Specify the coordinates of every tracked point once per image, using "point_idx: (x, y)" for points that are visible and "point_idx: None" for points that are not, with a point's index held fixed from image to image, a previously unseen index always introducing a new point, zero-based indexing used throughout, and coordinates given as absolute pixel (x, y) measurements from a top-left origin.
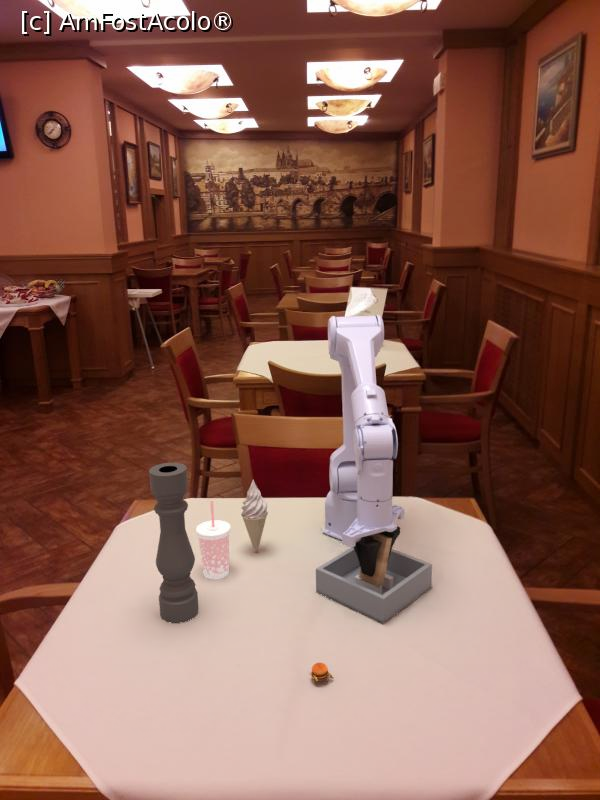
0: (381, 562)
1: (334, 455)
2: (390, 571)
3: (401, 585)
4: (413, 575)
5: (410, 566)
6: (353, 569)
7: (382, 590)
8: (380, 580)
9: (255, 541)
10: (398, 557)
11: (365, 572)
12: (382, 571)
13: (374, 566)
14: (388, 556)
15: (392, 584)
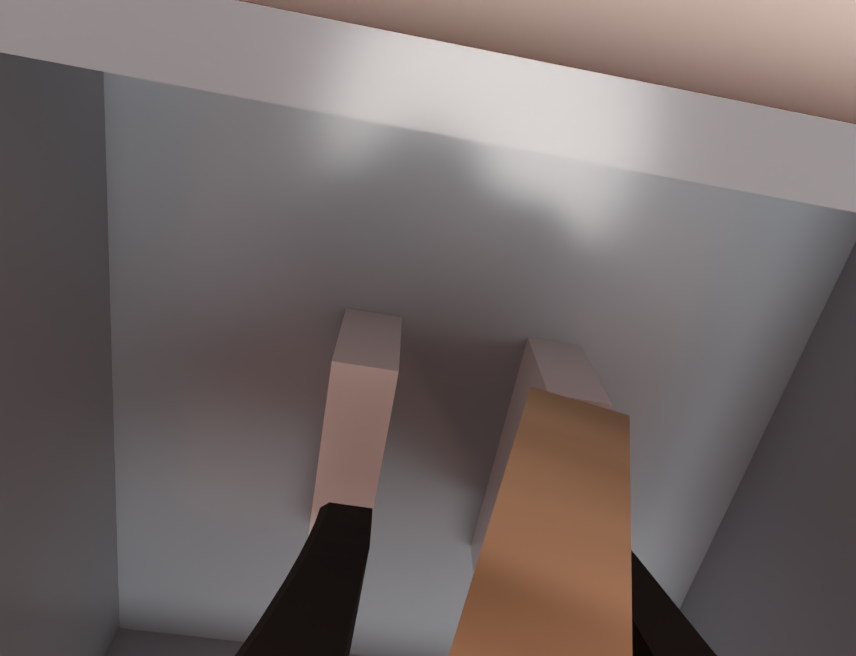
0: (626, 633)
1: None
2: (117, 435)
3: (787, 123)
4: (393, 72)
5: (21, 283)
6: None
7: (447, 366)
8: (601, 437)
9: None
10: (2, 477)
11: None
12: (589, 502)
13: (669, 642)
14: (460, 641)
15: (356, 326)
